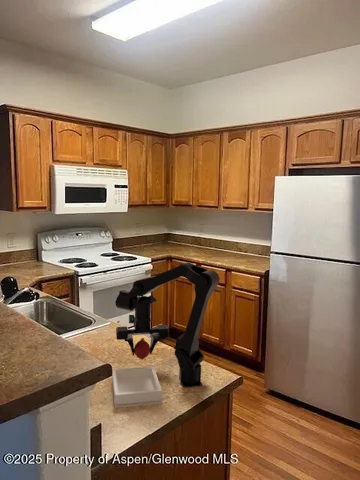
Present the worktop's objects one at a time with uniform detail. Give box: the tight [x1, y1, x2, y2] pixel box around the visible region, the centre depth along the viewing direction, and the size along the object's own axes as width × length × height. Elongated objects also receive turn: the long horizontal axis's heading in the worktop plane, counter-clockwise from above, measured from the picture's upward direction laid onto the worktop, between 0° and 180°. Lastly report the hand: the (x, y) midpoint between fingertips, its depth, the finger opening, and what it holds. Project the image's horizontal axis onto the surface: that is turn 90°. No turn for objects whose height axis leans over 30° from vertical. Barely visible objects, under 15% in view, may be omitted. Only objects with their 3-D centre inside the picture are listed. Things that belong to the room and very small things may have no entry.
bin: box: [111, 366, 163, 409], centre depth 116 cm, size 14×16×4 cm
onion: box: [134, 337, 150, 360], centre depth 132 cm, size 6×6×8 cm
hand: (141, 354), depth 132 cm, fingers closed on onion, 6 cm apart
